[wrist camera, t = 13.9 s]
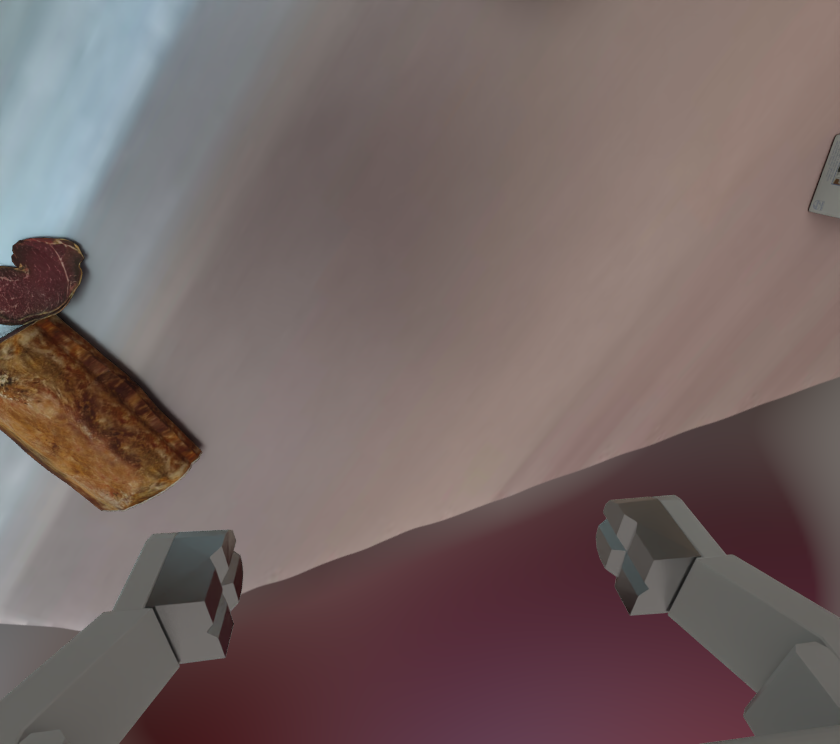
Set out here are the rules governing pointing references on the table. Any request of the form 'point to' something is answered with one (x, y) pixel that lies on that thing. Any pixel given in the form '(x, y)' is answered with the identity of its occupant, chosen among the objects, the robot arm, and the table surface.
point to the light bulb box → (829, 185)
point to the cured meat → (77, 391)
